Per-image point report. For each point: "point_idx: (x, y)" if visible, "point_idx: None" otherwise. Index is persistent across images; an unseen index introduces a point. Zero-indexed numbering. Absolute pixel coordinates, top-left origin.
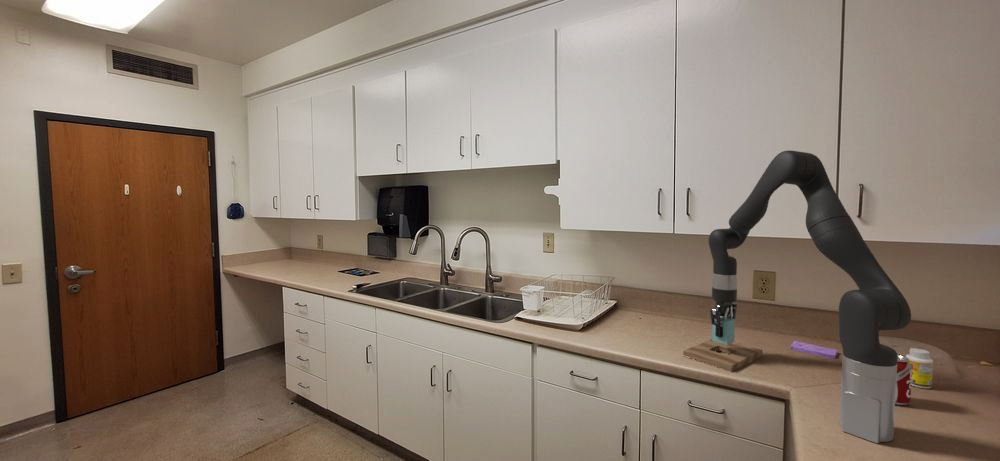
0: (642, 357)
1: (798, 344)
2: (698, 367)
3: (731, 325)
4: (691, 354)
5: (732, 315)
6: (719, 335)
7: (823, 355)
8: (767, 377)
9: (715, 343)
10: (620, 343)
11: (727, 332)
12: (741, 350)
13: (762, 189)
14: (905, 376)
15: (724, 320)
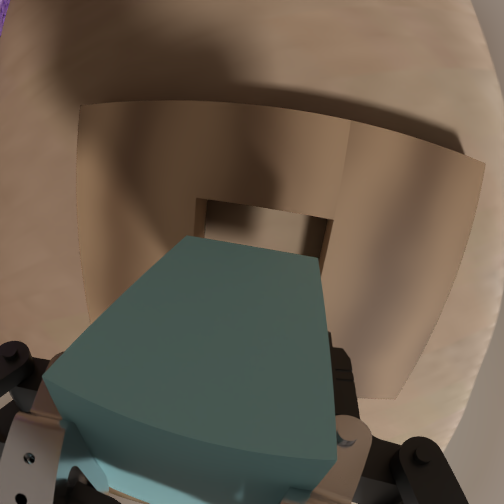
0: (453, 432)
1: None
2: (484, 294)
3: (189, 352)
4: (411, 365)
5: (26, 436)
6: (344, 355)
7: (5, 8)
8: (408, 7)
9: None
10: None
11: (324, 322)
12: (166, 182)
13: None
14: None
15: (300, 490)
